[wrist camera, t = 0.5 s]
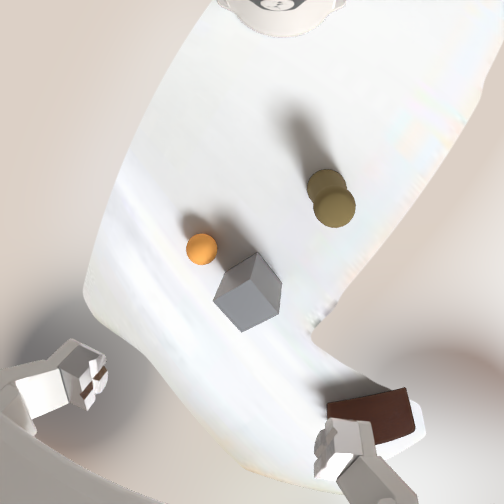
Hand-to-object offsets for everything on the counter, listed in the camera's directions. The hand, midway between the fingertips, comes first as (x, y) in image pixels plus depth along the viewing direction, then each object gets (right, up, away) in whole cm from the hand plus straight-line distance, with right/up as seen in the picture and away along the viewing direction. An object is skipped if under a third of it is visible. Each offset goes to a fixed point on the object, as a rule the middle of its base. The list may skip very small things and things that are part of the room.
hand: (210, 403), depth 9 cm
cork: (+13, +15, +34) cm, 39 cm away
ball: (-7, +6, +39) cm, 40 cm away
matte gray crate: (+2, +1, +42) cm, 42 cm away
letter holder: (+30, -33, +55) cm, 71 cm away
